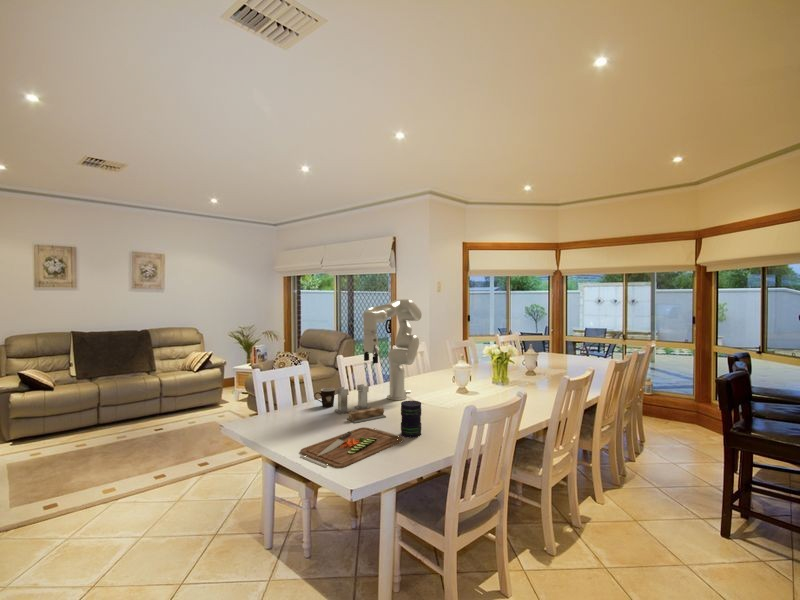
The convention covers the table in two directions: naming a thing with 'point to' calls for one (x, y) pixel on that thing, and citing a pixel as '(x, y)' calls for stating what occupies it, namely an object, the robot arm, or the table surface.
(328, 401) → the coffee mug
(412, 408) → the storage jar
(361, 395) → the post far
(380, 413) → the bread baguette
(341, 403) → the post near
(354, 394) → the table surface
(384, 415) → the mat
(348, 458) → the chopping board
